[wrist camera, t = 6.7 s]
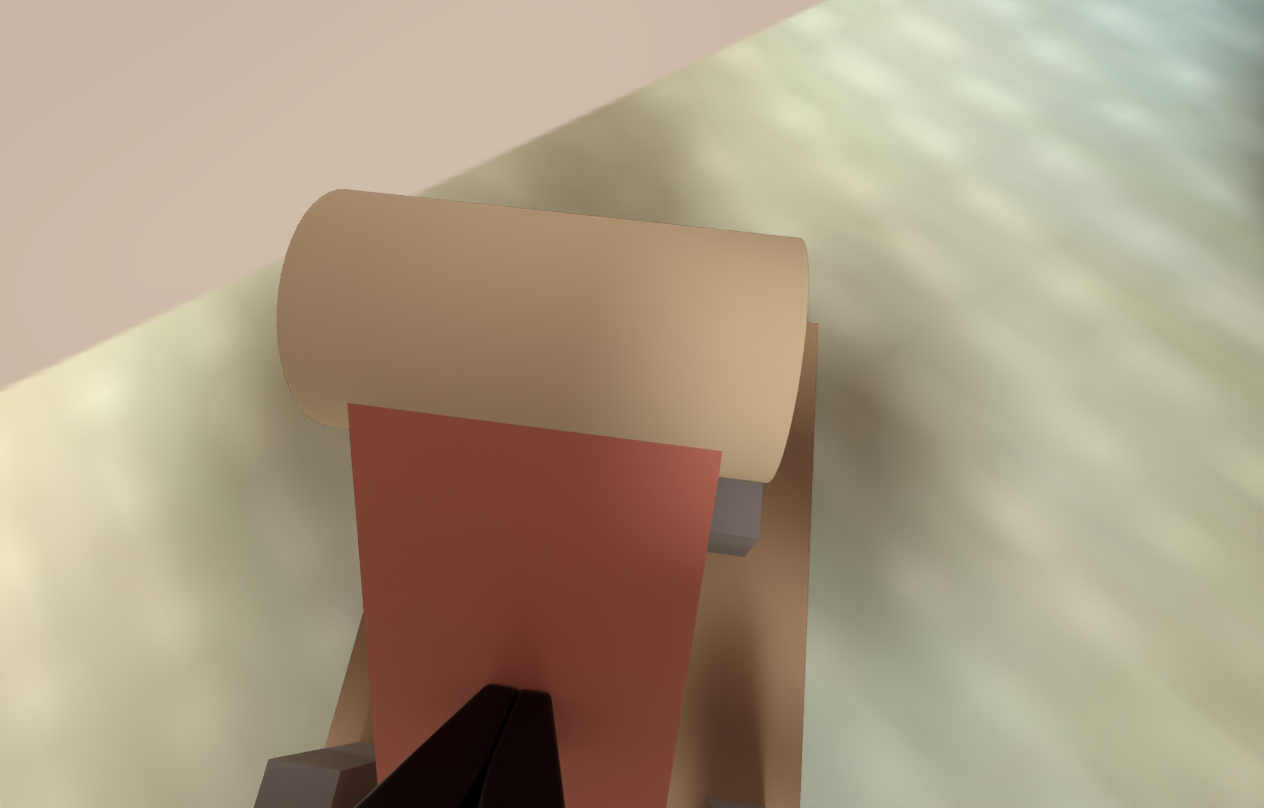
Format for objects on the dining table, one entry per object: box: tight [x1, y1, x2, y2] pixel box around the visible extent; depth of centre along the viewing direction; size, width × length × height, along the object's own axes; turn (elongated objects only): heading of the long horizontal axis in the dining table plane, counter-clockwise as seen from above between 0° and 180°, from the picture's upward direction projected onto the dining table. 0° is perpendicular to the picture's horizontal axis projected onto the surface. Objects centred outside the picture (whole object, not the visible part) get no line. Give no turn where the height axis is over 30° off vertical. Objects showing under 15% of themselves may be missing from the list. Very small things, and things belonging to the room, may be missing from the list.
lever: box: [277, 189, 809, 808], centre depth 10 cm, size 3×5×12 cm
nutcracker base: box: [254, 322, 818, 808], centre depth 13 cm, size 20×10×5 cm, turn 172°
